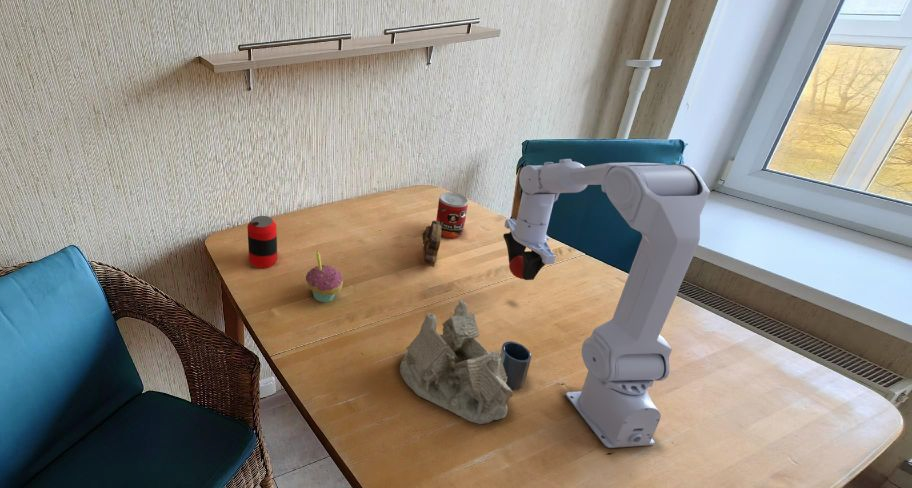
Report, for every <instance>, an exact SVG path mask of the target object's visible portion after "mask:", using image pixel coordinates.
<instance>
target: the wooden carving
mask: <svg viewBox="0 0 912 488" xmlns="http://www.w3.org/2000/svg"><path fill="white" fill-rule="evenodd" d="M441 237H442V236H441V225H440V222H439V221H436V220H432V222H431V223H430V225H428V226H426V227H425V229H424V231H423V232H422V234H421V238H422V246H423V247H422V251H421V263H422V264H423V265H427V266H429V267H433V268H435V264H436V263H437V260H438V253H439V249H440V245H441Z"/></svg>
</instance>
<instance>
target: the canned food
mask: <svg viewBox="0 0 912 488" xmlns="http://www.w3.org/2000/svg"><path fill="white" fill-rule="evenodd" d="M437 203H438V204H437V213H436V219H435V221H439V222H440V225H441V237H443V238H446V239H458V238H461V237H462V235H463V233H464V230H465V225H466V224H465V223H466V219H467V212H468V205H469V199H468V198H467V196H465V195H463V194H461V193H457V192H443V193H441V194H440V195H439V198H438V202H437Z"/></svg>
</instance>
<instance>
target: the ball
mask: <svg viewBox="0 0 912 488" xmlns="http://www.w3.org/2000/svg"><path fill="white" fill-rule="evenodd" d="M523 267H524V263H523V257H522V256H516V257H514V258H513V259H512V260H511V261H510V263H509V262H508V268H509V271H510V273H511V274H512V275H513V276H514V277H515V278H517V279H520V280H524V279H523Z"/></svg>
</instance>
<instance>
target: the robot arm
mask: <svg viewBox="0 0 912 488" xmlns="http://www.w3.org/2000/svg"><path fill="white" fill-rule="evenodd" d="M558 161H559V162H556V163H554V162H553V161H545V162H544V163H543V164H542V165H538V164H537V165H533V164H532V165H531V164H527V165H525V166H523V167H522V168H521V170H520V172H519V177H518V181H519V186H520V188H521V190H522V193H521V198H520V202H519V207H518V212H517V216H516V219H515V218H506V219H505V221H504V228H505V229H508V230H509V232H505V233H503V235H502V237H503V240H504V242H505V244H506V248H507V256H508V257H507V258H508V264H509V263H510V261H511V260H512V259H513V258H514V257H516V256H522V257H523V263H524V267H523V279H522V280H524V281H534V279H535V278H536V277H537V275H538V273H539V272H540V271H541V270H542V269H543V267H545V266H546V265H553V264H555V261H556V258H557V255H556V254H555V253H554V252H553V250H552V249H551V247H550V245H549V243H548V241H549V240H550V236H549V235H548V234H547V231H548V227H549V223H550V219H551V216H552V215H551V214H552V210H553V206H554V203H555V202H557V201H558V200H559V196H560V194H573V193H574V194H575V193H576V194H577V193H580V192H582V191H584V190H586V188H587V187H588V186H595V185H596V186H600V185H601V192H603V193H606V195H607V198H608V199H609V201H610V202H611V204H612V205H613V207H614V208H615V209H616V210H617V212H618V213H619V214H620V216H621V217H622V218H623V220H624V221H625V222H626V223H627V224H628V226H629V228H631V229H633V230H635V231H638V232H639V233H640V235H641V240H640V242H639V245H638V248H637V251H636V253H635V256H634V259H633V261H632V265H631V267H630V270H629V272H628V275H627V278H626V281H625V283H624V286H623V289H622V292H621V294H620V297H619V300H618V303H617V305H616V308H615V311H614V314H613V316H612V318H611V319H610V320H608V321H606V322H604V323H602V324H601V325H599V326H596V327H595V328H593V330H592V333H591V335H590V336H589V337H587V338H586V339H585V340H584V341H583V343H582V346H581V358H582V361H583V364H584V365H585V367H586V369H587V370H588V371H587V373H586V376H585V379H584V383H583V385H582V388H581V390H579V391H567V392H566V393H565V396H566V398H567V399H568V400H569V402H570V403H571V404H572V405H573V407H574V408H575V409H576V411H577V412H578V413H579V414H580V416H581V417H582V418H583V420H584V421H585V422H586V424H587V425H588V426H589V427H590V428H591V430H592V431H593V432H594V434H595V435H596V437H597V438H598V439H599V441H600V442H601V443H602V444H603V445H604V447H606V448H608V449H615V448H626V447H627V448H629V447H640V446H642V447H643V446H653V445H655V442H656V441H655V440H654V439H653V437H654V435H655V432H656V430H657V428H658V425H659V424H660V421H661V417H662V415H661V412H660V411H659V409H658V408H657V406H656V405H655V404H654V402H653V401H652V400H651V397H650V395H649V392H648V388H651V387H653V384H654V382H658V381H659V382H661V381H664V380H666V379H667V378H668V377H669V374H670V371H671V368H670V355H671V353H672V350H673V349H672V348H671V346H670V344H669V343H668V342H667V340H666V339H665V338H664V337H663V336H662V335H661V332H662V330H663V327H664V325H665V323H666V320H667V318H668V316H669V314H670V311H671V309H672V306H673V304H674V302H675V299H676V297H677V295H678V292H679V291H680V288H681V285H682V283H683V281H684V278H685V276H686V274H687V272H688V270H689V267H690V264H691V262H692V260H693V257H694V256H695V253H696V250H697V248H698V246H699V245H700V244H699V242H700V240H701V215H702V213H703V211H704V208H705V205H706V203H707V200H708V198H709V196H710V194H711V191H710V189H709V188H708V186H707V185H706V183H705V181H704V180H703V178H702V176H701V174H699V172H698V171H697V170H696V169H695V168H693V167H692V166H690V165H688V164H684V163H673V164H666V163H662V162H661V163H659V162H658V163H657V162H633V161H632V162H631V161H630V162H629V161H628V162H607V163H606V162H605V163H600V164H593V165H588V166H585V165H583V164H582V163H580V162H578V161H572V158H562V159H559V160H558ZM526 249H529V250H527V251H526Z"/></svg>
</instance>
